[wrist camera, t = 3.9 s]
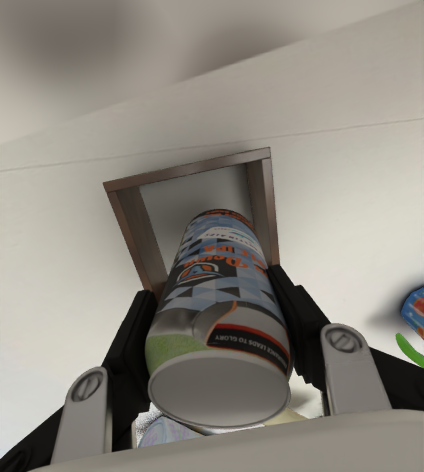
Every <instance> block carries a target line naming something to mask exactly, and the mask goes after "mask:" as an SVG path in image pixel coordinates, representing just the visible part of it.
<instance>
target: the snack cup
mask: <svg viewBox="0 0 424 472" xmlns="http://www.w3.org/2000/svg"><path fill="white" fill-rule="evenodd" d="M401 314H402V317H403V318H404V320H405V321H406V322H407V324H408V325H409V326H411V328H412V329H413V330H414V331H415V332H416V333H417V334H418V335H419V336H420V337H421V338H422V339H423V340H424V287H422V288H421V289H419V290H417V291H414V292H412V293H411V294H410V296H409V297H408V298H407V300H406V301H405V303H404V305H403V308H402V311H401ZM396 340H397V343H398V345H399V347H400V349H401V350H402V351H403V353H404V354H405V355H406V356H408V357H409V358H410V359H411V360H412V361H414V362H415V363H417V364H418V365H420V366H421V367H422V368H424V356H423V355H422V354H420V353H418V352H417V351H416V350H415V349H414V348H413V347H412V346H411V345H410V344H409V342H408V341H407V340H406V339H405V338H404V337H403V336H402V335H401V334H400V333H397V334H396Z"/></svg>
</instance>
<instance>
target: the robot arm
mask: <svg viewBox="0 0 424 472" xmlns="http://www.w3.org/2000/svg"><path fill="white" fill-rule="evenodd" d="M265 270H266V272H267V275H268V277H269V280H270V282H271V284H272V287H273V289H274V292H275V294H276V297H277V299H278V302H279V305H280V307H281V310H282V313H283V315H284V318H285V321H286V323H287V326H288V329H289V331H290V334H291V337H292V340H293V345H294V350H295V359H294V368H295V371H296V373H297V375H298V376H301V375H302V376H303V379H304V381H305V383H306V384H309V383H312V385H313V386H314V387H315V388H317V389H319V390H320V393H321V401H322V409H323V417H320V418H313V419H307V420H301V421H295V422H289V423H282V424H276V425H270V426H264V427H258V428H252V429H246V430H240V431H234V432H228V433H222V434H216V435H210V436H204V437H198V438H192V439H186V440H180V441H175V442H169V443H163V444H157V445H151V446H146V447H140V448H137V438H136V423H135V419H136V418H137V417H138V414H139V413H143V412H148V411H149V408H150V403H151V402H152V401H151V400H150V398H149V394H148V383H149V379H150V375H149V372H148V368H147V364H146V359H145V343H146V338H147V335H148V332H149V330H150V327H151V324H152V321H153V318H154V316H155V313H156V310H157V307H158V302H157V299H156V297H155V294H154V292H153V291H150V290H149V289H147V290H142V291H138V292H137V294H136V296H135V298H134V300H133V302H132V305H131V307H130V309H129V311H128V313H127V315H126V317H125V319H124V320H123V322H122V324H121V326H120V328H119V330H118V332H117V334H116V336H115V338H114V340H113V342H112V344H111V346H110V349H109V351H108V353H107V355H106V357H105V359H104V361H103V363H102V365H101V366H100V367H94V368H92V369H89V370H88V371H86V372H84V373H83V374H82V375H81V376H79V377H78V378H77V379H76V381H75V382H74V383H73V384H72V386H71V387H70V389H69V391H68V393H67V396H66V400H65V404H64V405H63V406H62V407H61V408H60V409H59V410H57V411H56V412H55V413H54V414H53V415H51V416H50V417H49V418H48V419H47V420H45V421H44V422H43V423H42V424H41V425H39V426H38V427H37V428H36V429H35V430H33V431H32V432H31V433H30V434H29V435H27V436H26V437H25V438H24V439H23V440H21V441H20V442H19V443H18V444H17V445H15V446H14V447H13V448H12V449H11V450H9V451H8V452H7V453H6V454H5V455H4V456H3V457H2V458H1V459H0V472H424V368H422V367H419V366H417V365H414V364H412V363H409V362H407V361H404V360H402V359H399V358H397V357H394V356H392V355H389V354H386V353H384V352H381V351H379V350H376V349H374V348H371V347H369V346H368V344H367V342H366V340H365V338H364V337H363V336H362V335H361V334H360V333H359V332H358V331H357V330H355V329H354V328H352V327H349V326H347V325H344V324H339V323H332V324H331V322H330V321H329V320H328V318H327V317H326V316H325V315H324V313H323V312H322V311H321V309H320V308H319V307H318V305H317V304H316V303H315V302H314V300H313V299H312V298H311V296H310V295H309V294H308V293H307V291H306V290H305V289H304V287H303V286H301V285H298V286H294V284H293V283H292V281H291V280H290V278H289V277H288V276H287V274H286V273H285V271H284V270H283V269H282V267H281V266H280V265H279V264H275V265H270V266H268V269H265Z"/></svg>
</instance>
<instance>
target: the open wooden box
mask: <svg viewBox="0 0 424 472" xmlns="http://www.w3.org/2000/svg"><path fill="white" fill-rule="evenodd" d="M270 157H271V152H270V147H266V148H260V149H255V150H250V151H245V152H241V153H236V154H231V155H227V156H222V157H217V158H213V159H208V160H203V161H199V162H194V163H189V164H185V165H180V166H175V167H171V168H166V169H162V170H157V171H152V172H148V173H143V174H138V175H134V176H129V177H125V178H120V179H116V180H112V181H108V182H103V186H104V188H105V191H106V192H107V196H108V198H109V201H110V203H111V206H112V208H113V211H114V213H115V216H116V219H117V221H118V224H119V226H120V229H121V231H122V234H123V236H124V239H125V241H126V244H127V247H128V249H129V252H130V254H131V257H132V259H133V262H134V264H135V267H136V270H137V272H138V275H139V277H140V280H141V282H142V285H143V287H144V290H147V289H149V290H150V291H153V292H154V294H155V297H156V299H157V302H158V305H159V302H160V299H161V296H162V293H163V291H164V288H165V285H166V282H167V280H168V275H167V272H166V269H165V266H164V263H163V260H162V257H161V254H160V251H159V248H158V245H157V242H156V239H155V236H154V233H153V230H152V227H151V224H150V221H149V218H148V215H147V212H146V208H145V205H144V202H143V199H142V196H141V193H140V190H139V187H138V186H140V185H144V184H149V183H154V182H158V181H163V180H168V179H172V178H177V177H182V176H186V175H191V174H196V173H200V172H205V171H210V170H214V169H219V168H224V167H228V166H233V165H238V164H242V163H246V168H247V175H248V183H249V191H250V199H251V206H252V214H253V222H254V229H255V232H256V234H257V237H258V240H259V243H260V246H261V249H262V252H263V255H264V258H265V261H266V264H267V267H268V266H270V265H275V264H279V265H280V258H279V246H278V234H277V223H276V211H275V199H274V187H273V175H272V163H271V158H270Z"/></svg>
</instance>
